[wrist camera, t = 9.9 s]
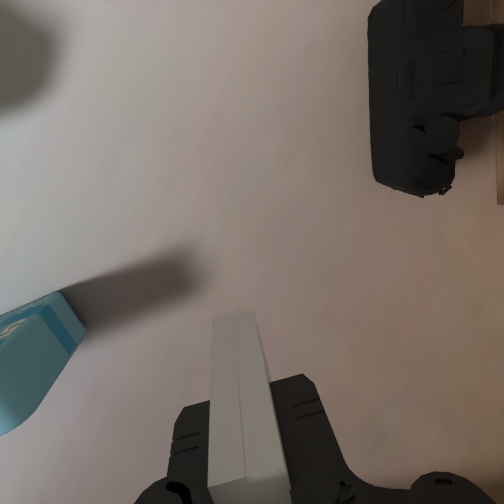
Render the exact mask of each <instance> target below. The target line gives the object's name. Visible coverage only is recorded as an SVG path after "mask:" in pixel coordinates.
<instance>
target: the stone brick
mask: <svg viewBox="0 0 504 504" xmlns="http://www.w3.org/2000/svg"><path fill="white" fill-rule="evenodd" d="M498 23H503V24H504V0H494V24H498ZM496 153H497V204H501V205H504V110H501V111H500V112H498V113H496Z"/></svg>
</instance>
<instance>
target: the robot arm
mask: <svg viewBox="0 0 504 504" xmlns="http://www.w3.org/2000/svg"><path fill="white" fill-rule="evenodd" d="M172 440H173V443H172V444H171V451H170V455H171V457H170V458H169V465H168V471H167V477H165V478H163V479H160V480H158V481H156V482H154V483H153V484H152V485H151V486H149V487H148V488H147V489H146V490H144V491H143V492H142V494H141V495H140V496H139V498H138V499H137V500H136V502H135V503H134V504H496V503H495V502H494V501H493V500H492V499H491V498H490V497H489V496H488V495H487V494H486V493H485V492H484V491H483V490H481V489H480V488H479V487H477V486H476V485H475V484H473V483H472V482H470V481H469V480H468V479H466V478H464V477H461V476H458V475H455V474H453V473H450V472H431V473H428V474H425V475H422V476H420V477H419V478H418V479H417V480H416V481H415V482H414V483H413V484H412V486H411V489H410V490H404V489H389V488H382V487H376V486H373V485H371V484H368V483H366V482H364V481H363V480H361V479H360V478H358V477H357V476H356V475H355V474H354V473H353V472H352V471H351V470H350V469H349V468H348V466H347V464H346V462H345V460H344V458H343V455H342V453H341V450H340V448H339V445H338V443H337V440H336V438H335V435H334V433H333V430H332V427H331V425H330V422H329V420H328V417H327V415H326V413H325V410H324V407H323V405H322V402H321V400H320V397H319V394H318V392H317V389H316V387H315V384H314V383H313V382H312V381H311V380H309V379H308V378H307V377H306V376H305V375H304V374H299V375H296V376H292V377H288V378H285V379H281V380H277V381H274V382H272V379H271V374H270V370H269V366H268V362H267V359H266V355H265V351H264V348H263V344H262V341H261V337H260V334H259V330H258V327H257V323H256V319H255V316H254V312H253V309H252V307H251V308H247V309H244V310H240V311H236V312H233V313H229V314H225V315H222V316H218V317H214V318H212V347H211V382H210V400H209V401H205V402H201V403H198V404H194V405H190V406H187V407H184V408H183V410H182V411H181V413H180V415H179V416H178V418H177V420H176V422H175V424H174V431H173V438H172Z"/></svg>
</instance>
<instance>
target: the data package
mask: <svg viewBox="0 0 504 504" xmlns="http://www.w3.org/2000/svg"><path fill="white" fill-rule="evenodd" d="M85 335H86V329H85V328H84V326H83V325H82V323H81V322H80V321H79V319H78V318H77V316H76V315H75V313H74V312H73V310H72V309H71V307H70V306H69V305H68V303H67V302H66V300H65V299H64V297H63V296H62V294H61V293H59V292H54V293H51V294H49V295H46V296H44V297H42V298H40V299H37V300H35V301H33V302H30V303H28V304H26V305H24V306H21V307H19V308H17V309H15V310H12V311H10V312H8V313H6V314H3V315H1V316H0V436H1V435H3V434H5V433H7V432H9V431H11V430H13V429H14V428H16V427H17V426H19V425H20V424H22V423H23V422H24V421H25V420H26V419H28V418H29V417H30V416H31V415H32V414H33V413H34V411H35V410H36V409H37V408H38V406H39V405H40V403H41V402H42V400H43V399H44V397H45V396H46V394H47V393H48V391H49V390H50V388H51V387H52V385H53V384H54V382H55V381H56V379H57V377H58V376H59V374H60V373H61V371H62V370H63V368H64V367H65V365H66V364H67V362H68V361H69V359H70V358H71V356H72V355H73V353H74V352H75V350H76V349H77V347H78V346H79V344H80V343H81V341H82V340H83V338H84V337H85Z"/></svg>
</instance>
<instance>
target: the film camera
mask: <svg viewBox="0 0 504 504" xmlns="http://www.w3.org/2000/svg"><path fill="white" fill-rule="evenodd" d="M462 22H463V0H381V1H380V2H379V3H378V4H377V5H375V6H374V7H373V8H372V10H371V13H370V15H369V16H368V32H367V36H368V68H369V72H368V76H369V111H370V143H371V158H372V170H373V175H374V178H375V180H376V181H377V182H379V183H381V184H383V185H385V186H389V187H391V188H392V189H395V190H399V191H403V192H405V193H408V194H411V195H415V196H418V197H421V198H424V196H426V195H432V194H436V193H438V192H439V193H438V194H439V195H444V194H445V193H446V192H447V191H448V190H449V189H451V188H452V186H451V183H452V181H453V179H454V177H455V160H457V159H461V158H462V157H463V156H464V151H463V149H461V148H459V147H457V146H456V143H457V140H458V137H459V134H460V128H459V123H460V121H465V120H469V119H471V118H476V117H485V116H491V115H493V114H496V113H498V112H500V111H501V110H504V24H503V23H498V24H491V25H485V26H476V25H474V26H465V27H463V26H462ZM444 188H445V189H444ZM443 189H444V190H443Z"/></svg>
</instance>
